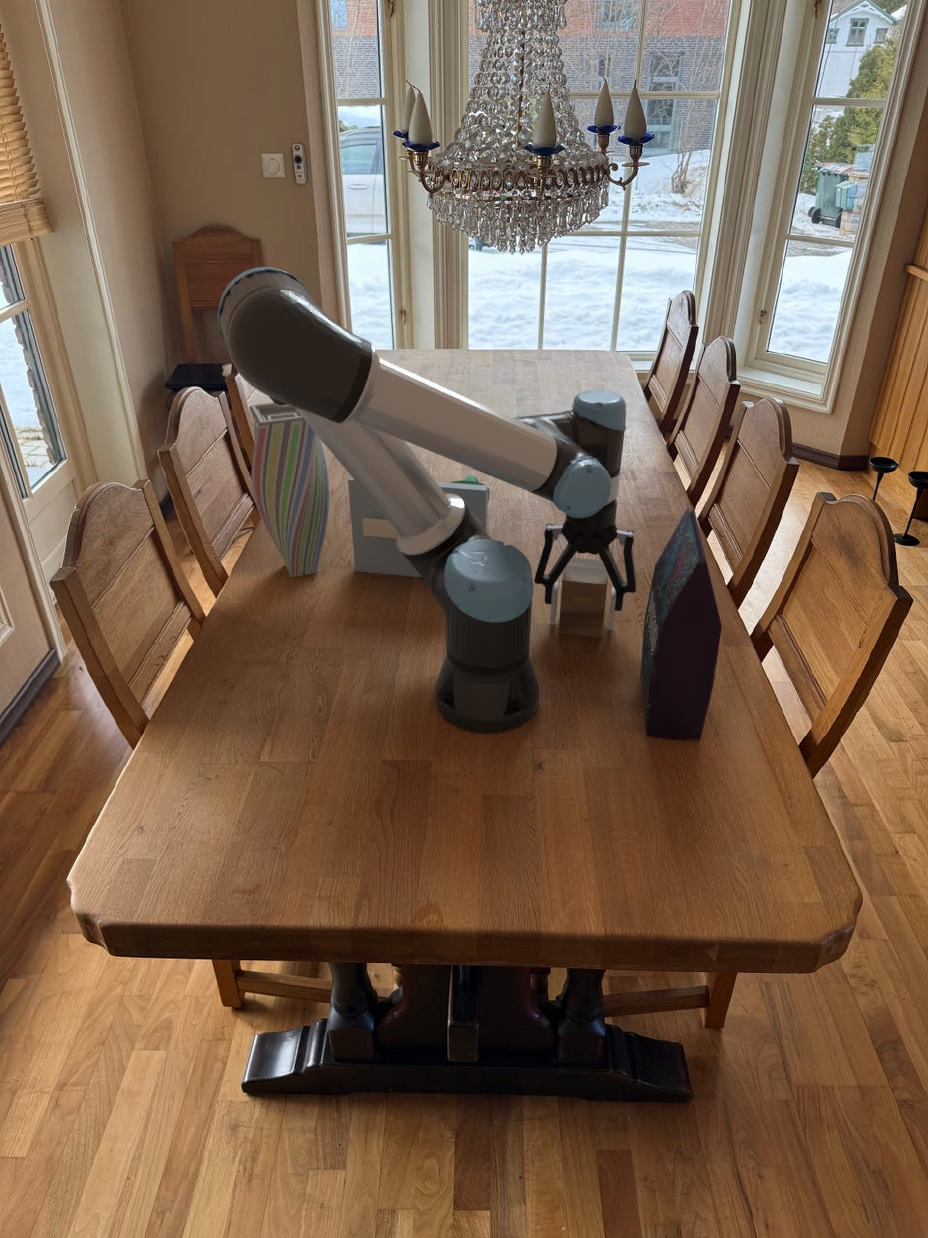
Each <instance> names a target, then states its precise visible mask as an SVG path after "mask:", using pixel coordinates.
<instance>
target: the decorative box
mask: <svg viewBox="0 0 928 1238" xmlns="http://www.w3.org/2000/svg"><path fill="white" fill-rule="evenodd" d="M700 532H701V531H700V529H699V524H698V520H697V515H696V511H695V507H693V508H692V509H691V510H690V509H689V507H687V508H686V510H685V512H684V513H683V515H682V517H681V518H680V520H679V522H678V524H677V526H676V528H675V529H674V531H673V533H672V535H671V536H670V538H669V540H668V542H667V543H666V546H664V549H663V551H662V552H661V555H660V556H659V558H658V559H657V561H656V563H655V565H654V569H653V574H652V578H651V585H650V589H649V593H648V594H649V595H648V599H647V605H646V610H645V616H644V620H643V621H644V622H643V631H642V632H643V633H642V645H641V646H642V648H641V662H640V680H641V692H642V701H643V702H642V703H643V715H644V726H645V736H646V737H651V738H659V739H666V740H672V741H674V740H675V741H676V740H677V741H679V740H681V741H682V740H685V741H686V740H691V739H696V740H695V741H700V740H701V738H702V735H703V730H704V727H705V722H706V719H707V713H708V709H709V706H710V701H711V698H712V693H713V689H714V684H715V677H716V671H717V664H718V656H719V649H720V642H721V634H722V627H723V626H722V625H723V624H722V620H721V617H720V613H719V612H720V611H719V608H718V604H717V599H716V595H715V591H714V586H713V583H712V578H711V574H710V570H709V566H708V561H707V558H706V552H705V550H704V549H705V548H704V545H703V539H702V537H701V533H700Z"/></svg>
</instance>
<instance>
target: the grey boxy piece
mask: <svg viewBox="0 0 928 1238" xmlns="http://www.w3.org/2000/svg"><path fill="white" fill-rule="evenodd" d="M436 483H437V484H438V485H439V487H440V488H441V489H442V491H443V492H444V493H445V494H456V495H458V496H459V497H460V498H461V499H462V500H463V501H464V502H465V504H466V505H467V506H468V507H469V509H470V510H471V511H472V513H473V514H474V515H475V516H476V517H477V518H478V519H479V521H480V522H481V523H482V524H483V526H484V528H485V529H486V531H487V532H488V519H489V518H488V516H489V515H488V514H489V513H488V507H489V502H488V488H489V486H488V485H486V484H484V485H473V484H460V483H449V482H447V481H446V482H445V481H436ZM347 484H348V495H349V496H348V497H349V509H350V510H349V511H350V521H351V522H350V523H351V533H352V546H353V558H354V571H355V572H360V573H362V572H363V573H372V574H379V575H380V574H383V575H392V576H402V577H415V578H422V576H421V575H420V574H419V573H418V572H417V570H416V569H415V568H414V567H413V566H412V564H411V563H410V562H409V561H408V560H407V558H406V557H405V556H404V555H403V554H402V553H401V551H400V550H399V549H398V547H397V545H396V536H397V532H398V531H397V530H396V529H395V528H394V527H393V525H392V524H391V523H390V522H389V521H388V519H387V518H386V517H385V516H384V515H383V513H382V512H381V511H380V510H379V509H378V507H377V506H376V505H375V504H374V503H373V501H372V500H371V499H370V498H369V497H368V495H367V494H366V493H365V492H364V491H363V489H362V488H361V487H360V486H359V485H358V483H357V482H356V481H355V480H354V479H353V478H352V476H351V475H350V477H348V480H347ZM485 485H486V486H485Z"/></svg>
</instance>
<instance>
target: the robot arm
mask: <svg viewBox="0 0 928 1238" xmlns="http://www.w3.org/2000/svg"><path fill="white" fill-rule="evenodd" d="M217 310H218V311H217V325H218V330H219V332H220V336H221V338H222V340H223V341H224V343H225V344H226V347H227V349H228V353H229V357H230V359H231V362H232V364H233V366H234V368H235V369H236V370H237V372H238V374H239V375H240V376H241V377H242V378H243V380H244V381H245V382H246V383H248V384H249V385H250V386H252V387H253V389H256V391H258V392H260V393H262V394H264V395H266V396H268V398H269V399H270V400H271V401H272V402H274V403H275V404H276V405H277V406H278V407H287V408H294V409H296V411H297V412H298V413H299V414H300V415H301V417H302V418H303V419H304V420H305V421H306V423H307V424H308V425H309V426H310V427H311V428H312V430H313V431H314V432H315V433H316V434H317V436H318V437H319V438H320V440H321V443H322V444H324V445H325V447H327V449H328V450H329V451H330V452H331V454H332V455H333V456H334V457H335V458H336V460H337V461H338V462H339V463H340V465H341V466H342V467H343V468H344V469H345V470H346V472H347V473H348V474H349V475H350V476H352V478H353V479H354V480H355V481H356V482H357V483H358V485H359V486H360V487H361V488H362V489H363V491H364V492H365V493H366V494H367V495H368V497H369V498H370V499H371V500H372V501H373V503H374V504H375V505H376V506H377V507H378V509H379V510H380V511H381V512H382V513H383V515H384V516H385V517H386V518H387V519H388V521H389V522H390V523H391V524H392V525H393V527H394V528H395V529H396V530H397V531H398V532H397V536H396V545H397V547H398V549H399V550H400V551H401V553H402V554H403V555H404V556H405V557H406V558H407V560H408V561H409V562H410V563H411V564H412V566H413V567H414V568H415V569H416V570H417V572H418V573H419V574H420V575H421V576H422V577H421V578H422V579H423V580H424V582H425V583H426V585H427V586H428V588H429V589H430V591H431V592H432V594H433V596H434V599H435V600H436V602H437V603H438V606H439V607H440V609H441V610H442V612H443V614H444V619H445V631H446V632H445V634H446V635H445V636H446V637H445V639H446V640H445V641H446V656H445V658H444V661H443V663H442V666H441V669H440V671H439V674H438V676H437V679H436V682H435V685H434V703H435V707H436V709H437V712H438V713H439V715H441V717H442V718H443V719H444V720H446V721H447V722H448V723H450V724H451V725H453V726H455V727H457V728H459V729H463V730H466V731H469V732H475V733H484V734H485V733H486V734H493V733H501V732H506V731H511V730H514V729H516V728H518V727H521V726H523V725H524V724H526V723H528V721H530V720H531V719H532V718H533V717H534V716H535V715H536V713H537V710H538V709H539V705H540V685H539V682H538V679H537V676H536V674H535V673H536V672H535V670H534V667H533V664H532V661H531V658H530V644H531V643H530V642H531V641H530V639H531V624H532V623H531V622H532V611H533V610H532V609H533V607H532V606H533V597H534V588H535V587H534V584H536V585H540V584H541V585H542V586H543V587H544V588H545V591H544V604H545V605H550V618H549V619H550V620H549V624H550V625H555V624H556V620H557V609H558V593H559V581H558V579H559V578H560V576H561V574H563V573H564V569H565V567H566V565H567V564H568V562H569V561H570V559H571V558H574V556H575V554H576V553H577V554H590V555H595V556H597V555H598V557H599V558H600V560H602V561H603V563H604V566H605V568H606V570H607V573H608V578H609V579H610V582H611V583H612V587H611V596H610V606H609V614H608V624H607V630H609V631H613V629H614V620H615V611H617V612H621V611H622V609H623V605H624V604H623V603H624V596H625V594H626V593H630V594H633V593H636V591H637V577H636V576H637V574H636V568H635V562H634V554H633V553H634V551H633V545H634V542H635V541H634V540H635V531H634V530H632V529H628V530H627V531H624V530H620V529H618V528H617V526H616V519H617V508H618V499H617V498H618V496H619V488H620V487H619V486H620V480H621V465H622V458H623V451H624V450H623V448H624V442H625V439H624V438H625V431H626V429H627V427H626V426H627V425H626V423H627V422H626V420H627V419H626V418H627V404H626V401H625V399H624V398H623V397H622V396H621V395H619V394H618V393H616V392H613V391H609V390H604V389H590V390H585V391H583V392H579V393H578V394H576V395H575V397H574V398H573V402H572V405H571V409H570V410H564V411H563V412H562V411H561V412H556V413H555V412H553V413H544V414H543V413H542V414H535V415H526V416H519V415H517V416H515V417H511V416H509V415H507V414H505V413H502V412H501V411H498V410H497V409H494V408H492V407H490V406H487V405H485V404H482V403H480V402H479V401H476V400H474V399H472V398H470V397H469V396H466V395H463V394H462V393H459V392H457V391H455V390H452V389H450V388H448V387H446V386H444V385H442V384H440V383H437V382H436V381H433V380H431V379H429V378H427V377H425V376H423V375H420V374H419V373H415V372H414V371H412V370H410V369H407V368H405V367H403V366H401V365H398V364H396V363H395V362H392V361H390V360H387V359H386V358H383V357H381V356H379V355H378V354H377V351H376V347H375V345H374V343H372V342H371V341H369V340H367V339H365V338H362V337H360V336H359V335H357V334H355V333H353V332H351V331H350V330H348V329H346V328H345V327H343V326H342V325H341V324H339V323H338V322H336V321H335V320H334V319H333V318H332V317H330V315H329V314H328V313H326V312H325V311H324V310H323V308H321V306H320V305H319V304H318V303H317V301H316V300H315V299H314V297H312V295H311V293H310V291H309V290H308V288H307V286H305V284H304V282H302V281H301V280H300V279H299V278H297V277H296V276H295V275H294V274H291V273H289V272H288V271H285V270H282V269H279V268H275V267H271V266H269V267H268V266H259V267H254V268H250V269H248V270H245V271H243V272H241V273H239V274H238V275H237V276H236V277H234V278H233V279H232V280H231V281H230V282H229V283H228V285H227V286H226V288H225V289H224V291H223V293H222V295H221V298H220V301H219V305H218V309H217ZM408 443H410V444H412V445H414V446H417V447H419V448H420V449H421V448H422V449H424V450H427V451H429V452H432V453H434V454H437V455H439V456H441V457H443V458H446V459H448V460H451V461H454V462H456V463H458V464H460V465H463V466H466V467H468V468H470V469H473V470H475V471H478V472H481V473H483V474H485V475H488V476H490V477H492V478H495V479H497V480H500V481H503V482H505V483H508V484H510V485H512V486H514V487H517V488H520V489H522V490H524V491H526V492H529V493H531V494H533V495H535V496H538V497H540V498H542V499H545V500H547V501H549V502H552V503H553V505H554V506H555V507H556V509H558V510H559V511H560V512H563V513H564V514H565V520H564V522H563V523H562V525H554V524H553V523H551V522H549V523H546V525H545V528H544V533H543V536H544V546H543V548H542V551H541V552H542V553H541V555H540V558H539V561H538V565H537V568H536V571H535V575H534V578H533V569H532V565H531V562H530V561H529V559H528V558H527V556H526V555H525V554H524V553H523V552H522V551H521V550H520V549H518V548H517V547H515V546H513V545H511V544H507V545H505V543H504V542H503V541H502V540H501V541H500V540H496V539H493V538H492V537H491V535H490V534H489V533H488V530H487V531H486V529H485V528H484V526H483V524H482V523H481V522H480V521H479V519H478V518H477V517H476V516H475V515H474V514H473V513H472V511H471V510H470V509H469V507H468V506H467V505H466V504H465V502H464V501H463V500H462V499H461V498H460V497H459V496H458V495H456V494H445V493H444V492H443V491H442V489H441V488H440V487H439V485H438V484H437V483H436V482H437V481H436V480H435V479H434V477H433V476H432V475H431V473H430V472H429V471H428V469H427V468H426V467H425V465H424V464H423V463H422V461H421V460H420V458H418V456H417V455H416V454H415V452H414V451H413V450H412V448H411V447H410V446H409V444H408ZM560 535H562V536H563V537H564V539H565V540H566V541H567V543H566V547H565V548H564V550H563V551H562V552H561V555H559V558H558V559H557V560H556V562H555V564H554V565H553V566H552V568H551V570H550V571H549V573H547V574H546V573H545V572H546V569H547V566H548V561H549V559H550V556H551V552H552V549H553V546H554V542H555V541H557V540H558V539H559V536H560ZM616 539H617V540H618V541H619V543H618V544H619V545H620V546H621V547H623V561H624V568H625V575H626V581H624V579H623V576H622V575H621V573H620V570H619V567H618V565H617V563H616V560H615V559H614V556H613V553H612V552H611V547H610V545H611V544H612V543H613V542H614V541H615V540H616Z"/></svg>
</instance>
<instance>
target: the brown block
mask: <svg viewBox="0 0 928 1238" xmlns="http://www.w3.org/2000/svg"><path fill="white" fill-rule="evenodd" d="M608 580H609V575H608V573H607V570H606V568H605V566H604V563H603V561H602V560H601V559H599V560H597V559H588V558H587V559H586V558H577V557H576V558H575V557H572V558H571V559H570V561H569V562H568V564H567V565H566V567H565V569H564V570H563V572H562V580H561V593H560V607H559V621H558V634H559V635H560V634H561V635H571V636H579V637H590V638H597V639H598V638H599V639H601V638H603V629H604V621H605V610H606V602H607V601H606V599H607V591H608Z"/></svg>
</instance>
